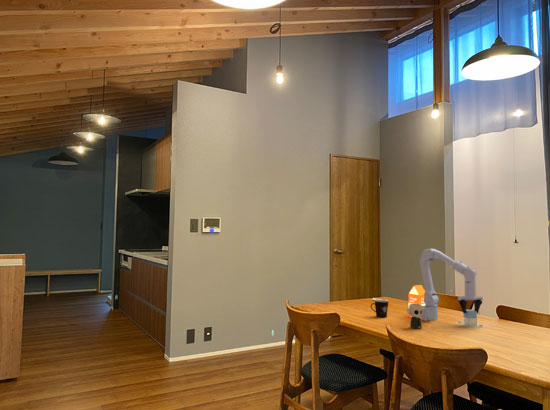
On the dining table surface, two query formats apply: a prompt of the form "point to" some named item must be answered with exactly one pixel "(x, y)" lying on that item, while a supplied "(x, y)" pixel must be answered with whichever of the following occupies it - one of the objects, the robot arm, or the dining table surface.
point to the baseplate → (469, 325)
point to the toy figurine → (415, 315)
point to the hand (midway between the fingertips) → (470, 312)
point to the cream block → (470, 321)
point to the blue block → (470, 314)
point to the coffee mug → (381, 308)
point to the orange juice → (417, 295)
